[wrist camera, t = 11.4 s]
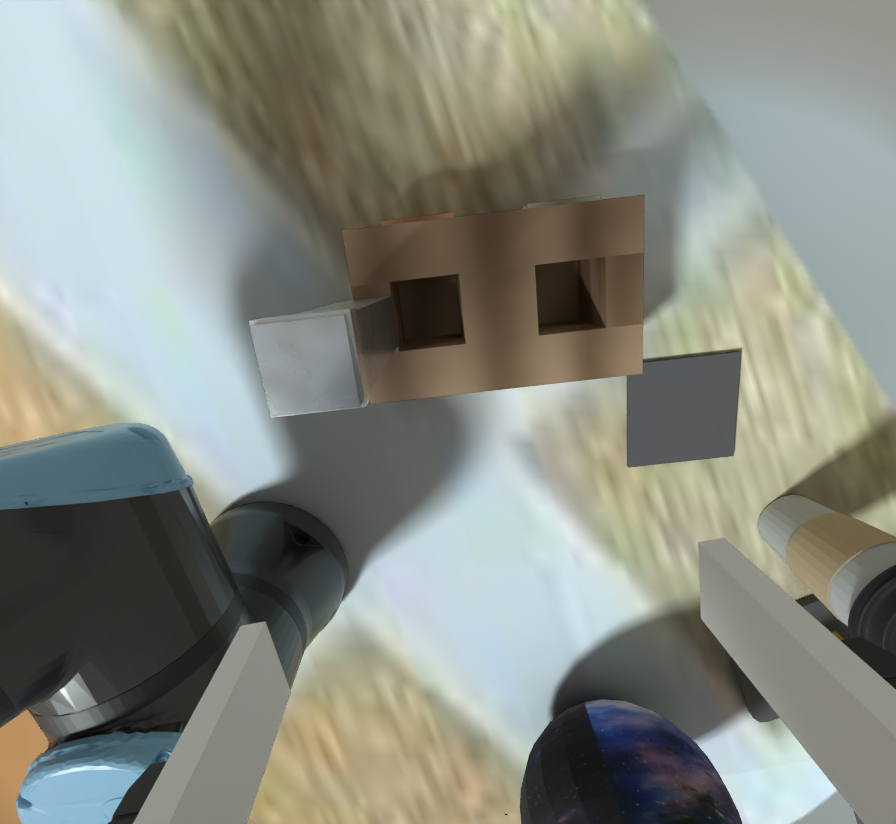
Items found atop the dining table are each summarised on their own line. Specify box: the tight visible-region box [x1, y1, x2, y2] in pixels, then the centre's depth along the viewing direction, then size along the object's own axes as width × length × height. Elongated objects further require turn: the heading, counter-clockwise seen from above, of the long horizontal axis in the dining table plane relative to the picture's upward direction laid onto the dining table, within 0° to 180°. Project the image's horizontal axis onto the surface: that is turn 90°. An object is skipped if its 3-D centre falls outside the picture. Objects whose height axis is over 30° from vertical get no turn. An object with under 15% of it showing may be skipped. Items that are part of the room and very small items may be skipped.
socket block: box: [342, 195, 644, 404], centre depth 36 cm, size 20×12×8 cm, turn 96°
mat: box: [627, 351, 741, 467], centre depth 43 cm, size 10×10×1 cm
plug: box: [249, 296, 398, 418], centre depth 24 cm, size 4×4×16 cm
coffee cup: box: [758, 495, 896, 657], centre depth 39 cm, size 9×9×15 cm
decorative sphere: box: [520, 699, 742, 824], centre depth 44 cm, size 19×20×20 cm
